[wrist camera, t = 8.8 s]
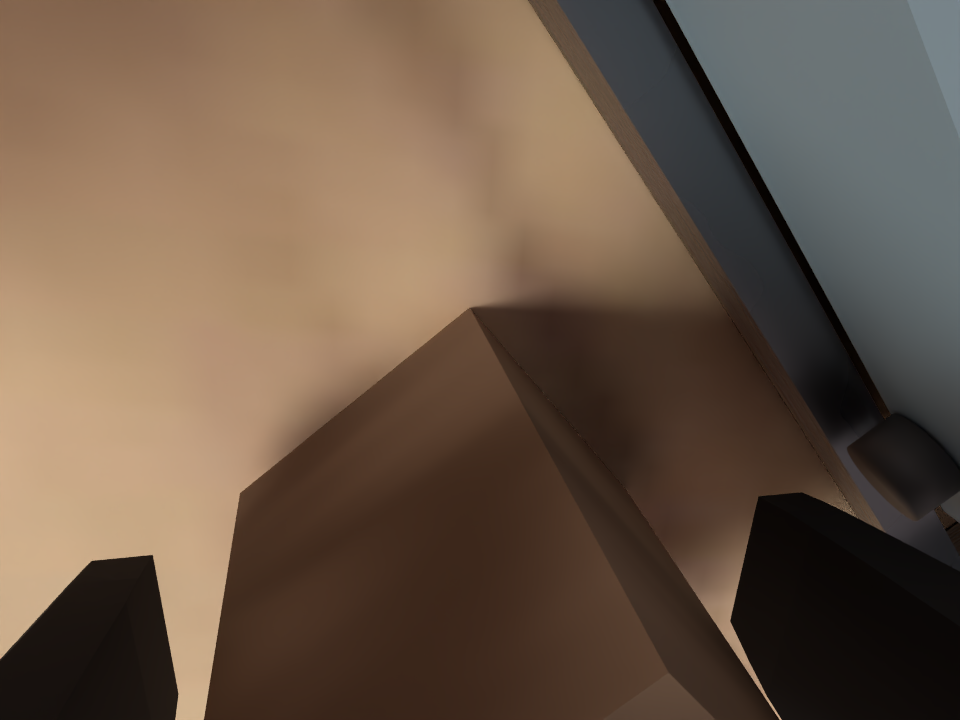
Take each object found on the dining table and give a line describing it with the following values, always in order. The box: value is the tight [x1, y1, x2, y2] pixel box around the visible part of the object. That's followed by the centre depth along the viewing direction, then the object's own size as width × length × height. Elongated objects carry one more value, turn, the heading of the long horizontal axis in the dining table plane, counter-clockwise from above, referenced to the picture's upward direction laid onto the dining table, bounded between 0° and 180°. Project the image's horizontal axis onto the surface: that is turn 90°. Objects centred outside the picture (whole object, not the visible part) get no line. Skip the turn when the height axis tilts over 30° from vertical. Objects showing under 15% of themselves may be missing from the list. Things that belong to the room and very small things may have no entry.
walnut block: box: [204, 308, 779, 720], centre depth 8 cm, size 4×4×6 cm
